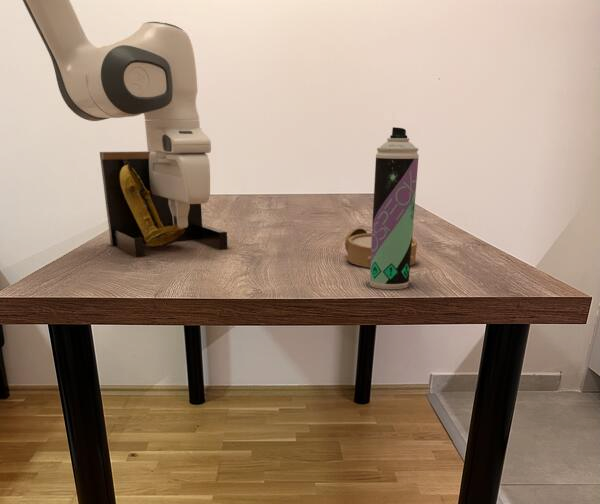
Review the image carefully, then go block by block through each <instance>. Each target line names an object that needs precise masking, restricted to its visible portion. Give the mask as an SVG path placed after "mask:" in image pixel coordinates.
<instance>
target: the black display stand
mask: <svg viewBox="0 0 600 504" xmlns="http://www.w3.org/2000/svg"><path fill="white" fill-rule="evenodd" d="M150 152H151V151H148V150H146V151H145V150H144V151H143V150H140V151H99V159H100V167H101V175H102V182H103V192H104V200H105V209H106V217H107V224H108V225H107V227H108V233H109V242H110V246H112V247H117V248H119V249H121V250H123V251H125V252H126V253H129V254H131V255H132V256H134V257H136V258H137V257H138V258H139V257H145V245H146V242H145V241H144V239H145V238H144V236H143V234H142V232H141V230H140V228H139V225H138V223H137V221H136V220H135V217H134V215H133V214H132V211H131V209H130V207H129V205H128V203H127V201H126V198H125V196H124V193H123V191H122V188H121V184H120V171H121V169H122V167H123V166H124V162H123V160H124V159H125V160H127V161H128V163H130V164H131V167H132V168H133V169H134V170H135V172H136V173H137V175H138V176H139V177H140V180H142V183H143V184H144V186H145V188H146V190H147V191H150V194H149V195H150V198H152V199H151V200H152V203H153V204H154V207H155V209H156V211H157V213H158V216H159V218H160V221H161V223H162V224H163V227H167V226H172V225H173V217H172V214H171V211H170V208H169V203H168V198H164V197H161V196H157V195H153V194H152V191H151V188H150V178H149V154H150ZM202 214H203V213H202V204H190V208H189V213H188V227H186V228H184V229H185V232H184V235H181V236H179V237H178V240H177V241H176V242H182V241H196V242H199V243H202V244H203V245H206V246H210V247H212V248H215V249H217V250H228V248H229V247H228V232H227V231H225V230H222V229H220V228H215V227H212V226H210V225H206V224H203V215H202Z"/></svg>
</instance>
